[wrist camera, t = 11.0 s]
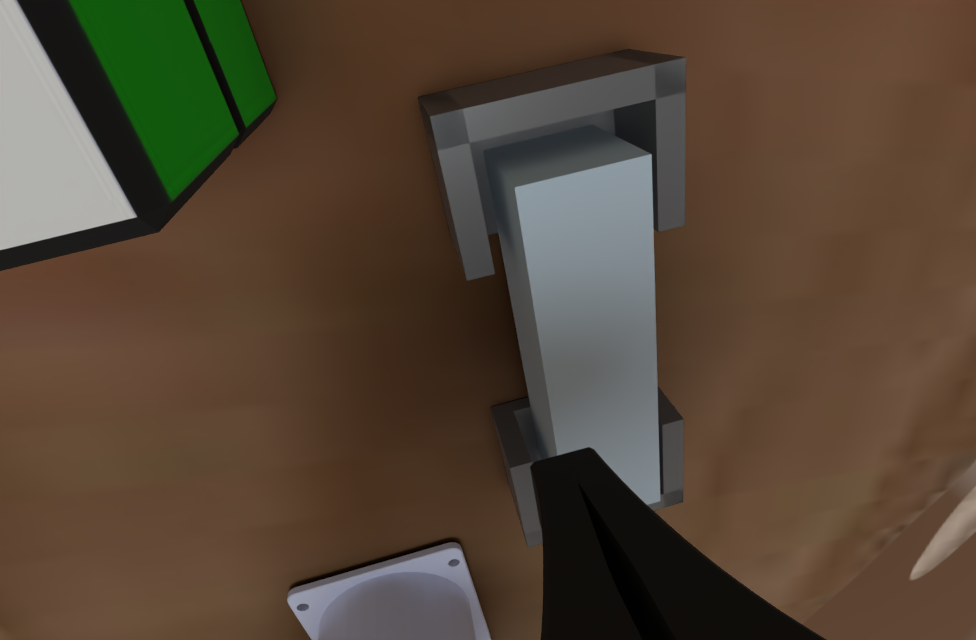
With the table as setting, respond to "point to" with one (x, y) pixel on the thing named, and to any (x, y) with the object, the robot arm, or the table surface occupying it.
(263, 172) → the table surface
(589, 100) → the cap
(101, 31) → the puzzle cube
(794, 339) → the table surface
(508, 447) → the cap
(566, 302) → the light grey rectangular bar
